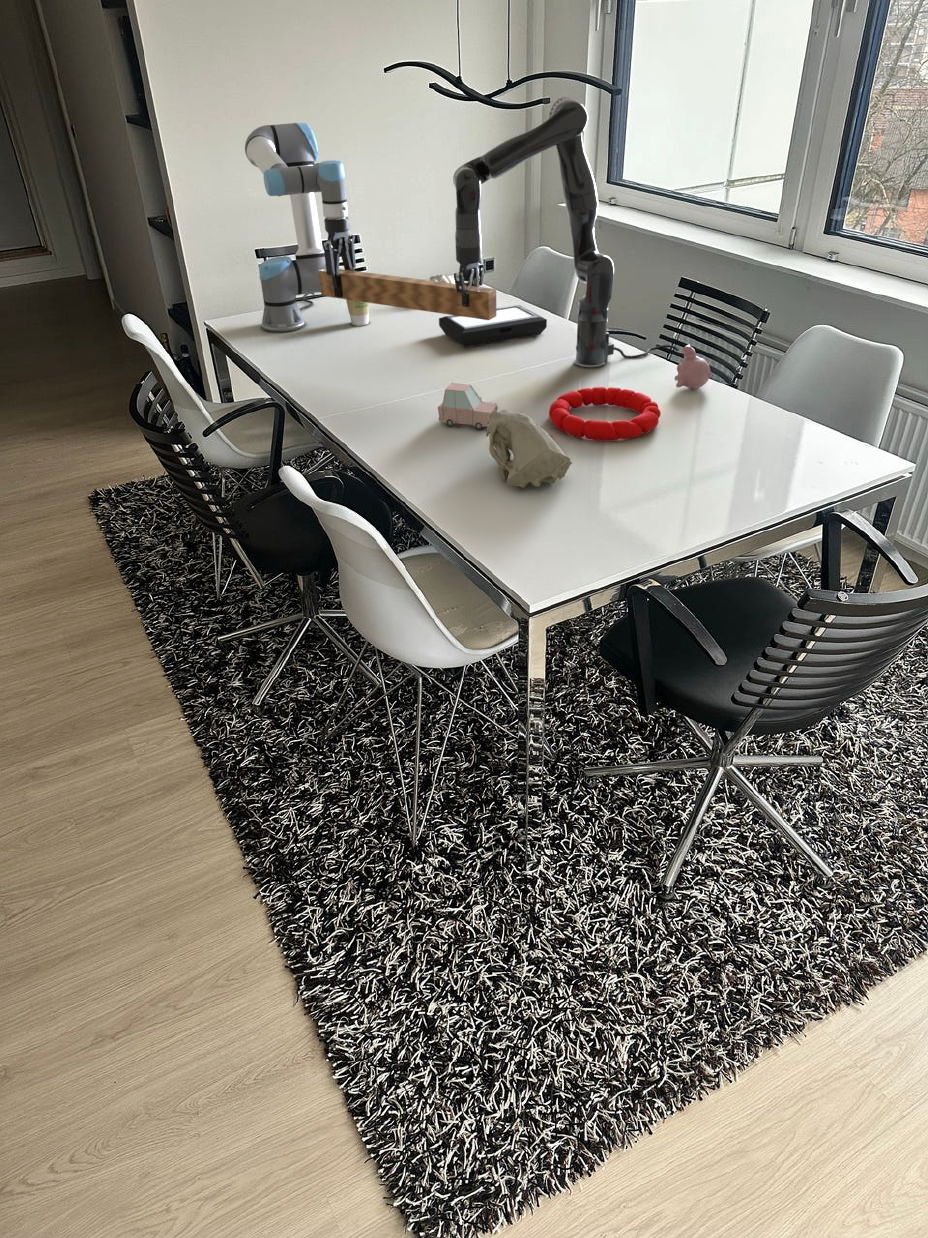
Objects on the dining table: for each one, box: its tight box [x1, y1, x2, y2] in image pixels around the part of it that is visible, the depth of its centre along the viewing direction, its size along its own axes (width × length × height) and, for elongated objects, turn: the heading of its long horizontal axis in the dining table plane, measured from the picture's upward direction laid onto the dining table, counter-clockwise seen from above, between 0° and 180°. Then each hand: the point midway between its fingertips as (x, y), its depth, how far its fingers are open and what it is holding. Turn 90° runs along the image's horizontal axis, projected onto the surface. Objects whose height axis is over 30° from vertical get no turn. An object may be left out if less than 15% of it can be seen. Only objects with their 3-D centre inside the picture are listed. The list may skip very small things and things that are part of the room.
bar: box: [319, 268, 497, 320], centre depth 276 cm, size 64×4×8 cm, turn 58°
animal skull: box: [485, 409, 573, 489], centre depth 216 cm, size 17×25×20 cm
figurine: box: [674, 344, 711, 390], centre depth 259 cm, size 9×11×12 cm
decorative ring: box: [548, 386, 661, 442], centre depth 242 cm, size 7×30×30 cm
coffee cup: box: [345, 299, 370, 327], centre depth 323 cm, size 10×10×15 cm
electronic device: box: [438, 304, 548, 348], centre depth 309 cm, size 32×6×20 cm
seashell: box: [428, 274, 455, 284], centre depth 346 cm, size 10×15×10 cm
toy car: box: [437, 382, 499, 431], centre depth 243 cm, size 9×15×10 cm, turn 70°
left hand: (344, 294), depth 288 cm, fingers closed on bar, 5 cm apart
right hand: (470, 303), depth 266 cm, fingers closed on bar, 4 cm apart
